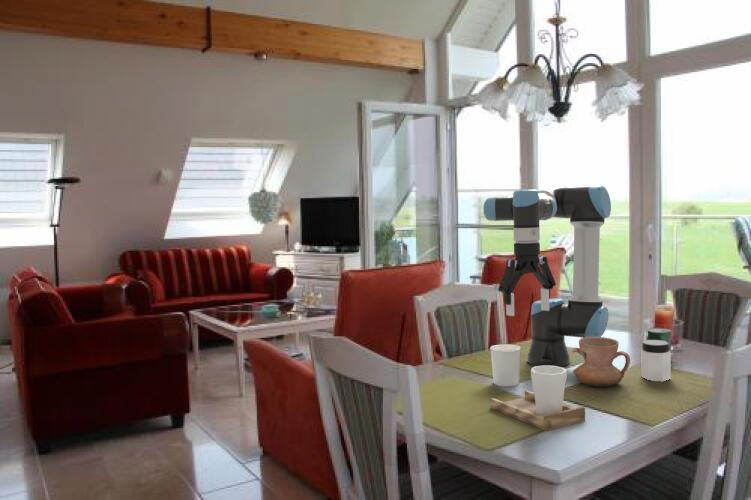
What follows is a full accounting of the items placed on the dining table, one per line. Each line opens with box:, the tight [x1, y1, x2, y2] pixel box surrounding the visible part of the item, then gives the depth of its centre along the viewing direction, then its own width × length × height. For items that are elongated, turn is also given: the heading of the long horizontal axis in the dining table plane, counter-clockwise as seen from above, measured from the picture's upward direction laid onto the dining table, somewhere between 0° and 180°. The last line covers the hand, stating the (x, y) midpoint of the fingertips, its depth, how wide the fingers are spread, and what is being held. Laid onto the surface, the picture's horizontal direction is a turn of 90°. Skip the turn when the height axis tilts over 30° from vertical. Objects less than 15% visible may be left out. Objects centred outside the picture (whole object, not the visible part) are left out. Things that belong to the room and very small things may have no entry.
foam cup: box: [530, 365, 568, 416], centre depth 177 cm, size 10×9×13 cm
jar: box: [640, 339, 672, 383], centre depth 212 cm, size 9×8×12 cm
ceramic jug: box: [571, 336, 631, 388], centre depth 208 cm, size 18×14×14 cm
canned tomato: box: [646, 327, 672, 352], centre depth 235 cm, size 8×8×11 cm
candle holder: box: [489, 343, 522, 388], centre depth 213 cm, size 10×10×12 cm
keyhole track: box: [490, 389, 586, 432], centre depth 182 cm, size 23×14×4 cm, turn 28°
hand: (528, 312), depth 193 cm, fingers open, 13 cm apart
